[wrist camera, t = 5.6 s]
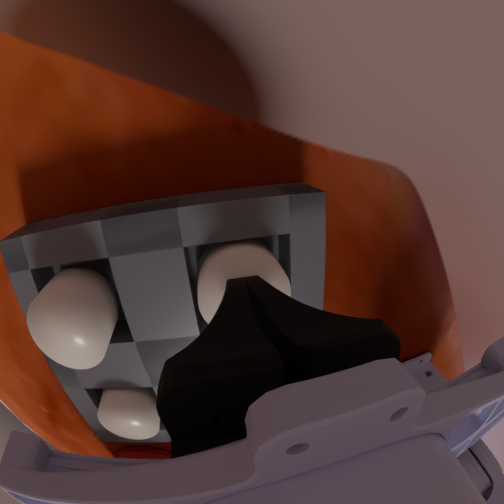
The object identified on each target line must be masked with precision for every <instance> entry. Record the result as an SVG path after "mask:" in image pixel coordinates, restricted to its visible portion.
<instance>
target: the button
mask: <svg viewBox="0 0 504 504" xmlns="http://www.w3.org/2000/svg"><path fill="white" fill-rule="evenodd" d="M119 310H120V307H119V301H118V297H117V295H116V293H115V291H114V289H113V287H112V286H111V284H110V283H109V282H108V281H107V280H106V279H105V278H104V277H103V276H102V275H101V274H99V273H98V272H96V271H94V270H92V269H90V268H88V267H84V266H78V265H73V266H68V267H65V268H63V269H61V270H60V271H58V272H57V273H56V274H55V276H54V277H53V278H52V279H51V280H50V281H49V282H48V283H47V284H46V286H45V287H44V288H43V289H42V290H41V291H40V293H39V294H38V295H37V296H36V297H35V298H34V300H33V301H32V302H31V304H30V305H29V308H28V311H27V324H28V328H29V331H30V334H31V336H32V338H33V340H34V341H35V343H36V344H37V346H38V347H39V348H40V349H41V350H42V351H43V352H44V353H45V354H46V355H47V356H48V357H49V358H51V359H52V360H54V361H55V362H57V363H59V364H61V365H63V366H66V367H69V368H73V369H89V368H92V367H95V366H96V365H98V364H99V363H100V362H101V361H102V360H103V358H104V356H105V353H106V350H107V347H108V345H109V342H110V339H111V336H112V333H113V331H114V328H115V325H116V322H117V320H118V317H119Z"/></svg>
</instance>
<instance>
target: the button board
mask: <svg viewBox="0 0 504 504" xmlns="http://www.w3.org/2000/svg"><path fill="white" fill-rule="evenodd" d="M249 238H258V239H259V240H261V241H262V242H264V243H265V244H266V245H267V246H268V248H269V249H270V250H271V252H272V254H273V255H274V257H275V258H276V260H277V261H278V263H279V264H280V266H281V267H282V269H283V270H284V272H285V273H286V275H287V277H288V279H289V282H290V286H291V297H292V298H293V299H295V300H297V301H299V302H302V303H304V304H306V305H309V306H311V307H314V308H317V309H320V310H323V299H324V278H325V245H326V192H325V191H322V190H320V189H317V188H315V187H313V186H310V185H308V184H305V183H303V182H301V183H288V184H275V185H264V186H253V187H244V188H234V189H225V190H216V191H208V192H200V193H193V194H185V195H178V196H171V197H164V198H158V199H151V200H145V201H139V202H133V203H127V204H121V205H116V206H110V207H105V208H100V209H95V210H90V211H85V212H80V213H75V214H70V215H65V216H61V217H56V218H52V219H48V220H43V221H39V222H35V223H31V224H27V225H25V226H23V227H21V228H20V229H18V230H16V231H15V232H13V233H11V234H10V235H8V236H7V237H5V238H4V239H2V240H0V249H1V252H2V256H3V259H4V262H5V265H6V268H7V271H8V274H9V277H10V280H11V283H12V286H13V288H14V291H15V294H16V296H17V299H18V301H19V304H20V306H21V308H22V311H23V313H24V315H25V318H26V320H27V311H28V308H29V305H30V304H31V302H32V301H33V300H34V298H35V297H36V296H37V295H38V294H39V293H40V291H41V290H42V289H43V288H44V287H45V286H46V284H47V283H48V282H49V281H50V280H51V279H52V278H53V277H54V276H55V274H56V273H57V272H58V271H60V270H61V269H63V268H65V267H68V266H73V265H78V266H84V267H88V268H90V269H92V270H94V271H96V272H98V273H99V274H101V275H102V276H103V277H104V278H105V279H106V280H107V281H108V282H109V283H110V284H111V286H112V287H113V289H114V291H115V293H116V295H117V297H118V301H119V307H120V310H119V317H118V320H117V322H116V325H115V328H114V331H113V333H112V336H111V339H110V342H109V345H108V347H107V350H106V353H105V356H104V358H103V360H102V361H101V362H100V363H99V364H98V365H96V366H95V367H92V368H89V369H73V368H69V367H66V366H63V365H61V364H59V363H57V362H55V361H54V360H52V359H51V358H49V357H48V356H47V355H46V354H45V353H44V352H43V351H42V350H41V351H42V352H43V354H44V356H45V358H46V360H47V362H48V363H49V365H50V367H51V369H52V370H53V372H54V374H55V376H56V377H57V379H58V380H59V382H60V384H61V385H62V387H63V389H64V390H65V392H66V393H67V395H68V396H69V398H70V399H71V401H72V402H73V404H74V405H75V407H76V408H77V409H78V411H79V412H80V414H81V415H82V416H83V418H84V419H85V421H86V422H87V423H88V425H89V426H90V427H91V429H92V430H93V431H94V432H95V434H96V435H97V436H98V437H99V439H100V440H101V441H106V442H132V443H153V442H171V438H170V436H169V434H168V432H167V431H166V429H165V427H164V425H163V423H162V421H161V419H160V427H159V432H158V433H157V434H156V435H155V436H154V437H151V438H148V439H142V440H136V439H128V438H124V437H121V436H118V435H116V434H114V433H112V432H110V431H109V430H107V429H106V428H105V427H104V426H103V425H102V424H101V423H100V422H99V420H98V417H97V412H98V408H99V404H100V400H101V396H102V392H103V389H104V388H141V387H153V389H154V391H155V393H156V396H157V389H158V383H159V379H160V376H161V372H162V369H163V366H164V363H165V361H166V360H167V359H169V358H170V357H172V356H173V355H175V354H177V353H178V352H180V351H181V350H183V349H184V348H185V347H187V346H188V345H189V344H190V343H192V342H193V341H194V340H195V339H196V338H197V337H198V336H199V335H200V334H201V333H202V332H203V330H204V329H205V328H206V327H207V325H208V323H207V322H206V321H205V320H204V318H203V316H202V315H201V312H200V310H199V306H198V284H197V269H198V263H199V260H200V257H201V255H202V253H203V252H204V250H205V249H206V248H207V247H208V246H209V245H210V244H211V243H218V242H226V241H233V240H241V239H249Z"/></svg>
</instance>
